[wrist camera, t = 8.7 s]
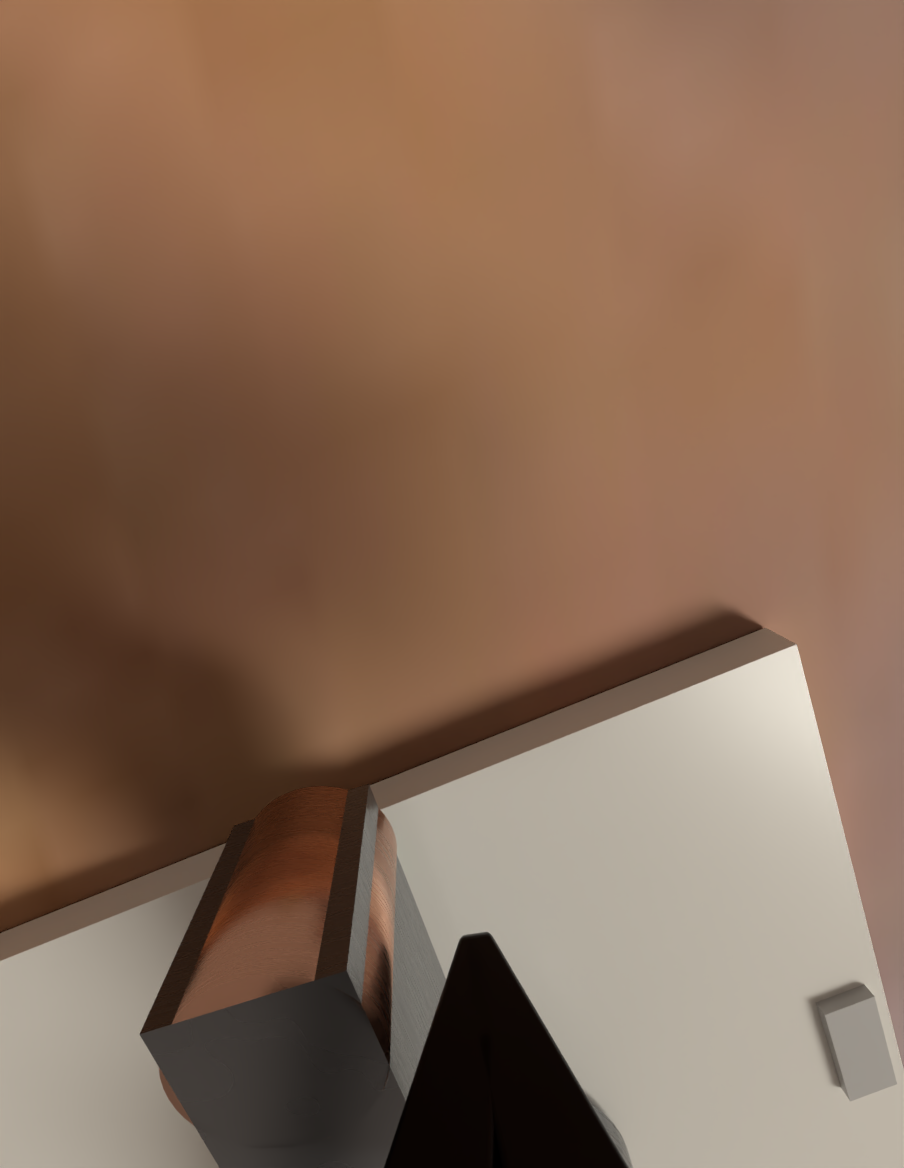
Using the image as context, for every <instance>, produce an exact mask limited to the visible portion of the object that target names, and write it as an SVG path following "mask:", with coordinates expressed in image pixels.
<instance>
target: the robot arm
mask: <svg viewBox="0 0 904 1168" xmlns="http://www.w3.org/2000/svg"><path fill="white" fill-rule="evenodd" d="M384 1168H629V1167H628V1165H627V1163H626V1162H625V1160H624V1158H623V1157H622V1155H621V1153H620V1151H619V1150H618V1148H617V1146H616V1145H615V1143H614V1141H613V1140H612V1138H611V1136H610V1134H609V1133H608V1131H607V1129H606V1128H605V1126H604V1124H603V1123H602V1121H601V1119H600V1117H599V1116H598V1114H597V1112H596V1111H595V1109H594V1107H593V1106H592V1104H591V1102H590V1101H589V1099H588V1097H587V1095H586V1094H585V1092H584V1090H583V1089H582V1087H581V1085H580V1084H579V1082H578V1080H577V1078H576V1077H575V1075H574V1073H573V1072H572V1070H571V1068H570V1067H569V1065H568V1063H567V1061H566V1060H565V1058H564V1056H563V1055H562V1053H561V1051H560V1050H559V1048H558V1046H557V1044H556V1043H555V1041H554V1039H553V1038H552V1036H551V1034H550V1033H549V1031H548V1029H547V1028H546V1026H545V1024H544V1022H543V1021H542V1019H541V1017H540V1016H539V1014H538V1012H537V1011H536V1009H535V1007H534V1005H533V1004H532V1002H531V1000H530V999H529V997H528V995H527V994H526V992H525V990H524V988H523V987H522V985H521V983H520V982H519V980H518V978H517V977H516V975H515V973H514V971H513V970H512V968H511V966H510V965H509V963H508V961H507V960H506V958H505V956H504V955H503V953H502V951H501V949H500V948H499V946H498V944H497V943H496V941H495V939H494V938H493V936H492V935H491V934H490V933H489V932H480V933H474V934H467V935H463V936H462V937H461V938H460V940H459V942H458V945H457V948H456V951H455V954H454V957H453V960H452V963H451V966H450V969H449V972H448V975H447V978H446V981H445V984H444V987H443V990H442V993H441V996H440V999H439V1002H438V1005H437V1008H436V1011H435V1014H434V1017H433V1020H432V1023H431V1026H430V1030H429V1033H428V1036H427V1039H426V1042H425V1045H424V1048H423V1051H422V1054H421V1057H420V1060H419V1063H418V1066H417V1069H416V1072H415V1075H414V1078H413V1081H412V1084H411V1087H410V1090H409V1093H408V1096H407V1099H406V1102H405V1105H404V1108H403V1111H402V1114H401V1117H400V1120H399V1123H398V1126H397V1129H396V1132H395V1135H394V1138H393V1141H392V1144H391V1147H390V1150H389V1153H388V1156H387V1159H386V1162H385V1165H384Z"/></svg>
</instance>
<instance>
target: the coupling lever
mask: <svg viewBox="0 0 904 1168" xmlns="http://www.w3.org/2000/svg"><path fill="white" fill-rule="evenodd" d="M445 981H446V978H445V976H444V973H443V970H442V968H441V965H440V963H439V960H438V958H437V955H436V953H435V950H434V948H433V945H432V943H431V940H430V937H429V935H428V932H427V930H426V927H425V925H424V922H423V920H422V917H421V915H420V912H419V910H418V907H417V904H416V902H415V899H414V897H413V894H412V892H411V889H410V887H409V884H408V882H407V879H406V877H405V874H404V871H403V869H402V866H401V864H400V861H399V859H398V856H397V843H396V837H395V834H394V831H393V828H392V826H391V824H390V822H389V821H388V819H387V818H386V816H385V815H384V814H383V812H382V811H381V810H380V809H379V808H378V806H377V803H376V800H375V798H374V795H373V793H372V790H371V788H370V785H369V784H367V785H364V786H360V787H357V788H354V789H351V790H346V789H341V788H336V787H328V786H314V787H307V788H302V789H298V790H294V791H292V792H289V793H286V794H284V795H282V796H280V797H278V798H277V799H275V800H274V801H272V802H271V803H270V804H268V805H267V806H266V807H265V808H264V809H263V810H262V811H261V812H260V813H259V815H258V816H257V817H256V819H254V820H251V821H248V822H244V823H241V824H238V825H235V826H234V827H233V830H232V832H231V834H230V836H229V838H228V841H227V843H226V845H225V847H224V849H223V852H222V854H221V856H220V858H219V860H218V863H217V865H216V867H215V869H214V871H213V874H212V876H211V878H210V880H209V882H208V885H207V887H206V889H205V891H204V893H203V896H202V898H201V900H200V902H199V904H198V907H197V909H196V911H195V913H194V915H193V918H192V920H191V922H190V924H189V926H188V929H187V931H186V933H185V935H184V937H183V940H182V942H181V944H180V946H179V948H178V951H177V953H176V955H175V957H174V959H173V962H172V964H171V966H170V968H169V970H168V972H167V975H166V977H165V979H164V981H163V983H162V986H161V988H160V990H159V992H158V994H157V997H156V999H155V1001H154V1003H153V1005H152V1008H151V1010H150V1012H149V1014H148V1016H147V1019H146V1021H145V1023H144V1025H143V1027H142V1030H141V1032H140V1034H139V1035H140V1036H141V1038H142V1040H143V1041H144V1043H145V1045H146V1046H147V1048H148V1050H149V1051H150V1053H151V1055H152V1056H153V1058H154V1060H155V1061H156V1063H157V1065H158V1067H159V1075H160V1080H161V1083H162V1086H163V1089H164V1091H165V1093H166V1095H167V1097H168V1099H169V1101H170V1102H171V1103H172V1105H173V1106H174V1108H175V1109H176V1110H177V1111H178V1112H179V1113H180V1114H181V1115H182V1116H183V1117H184V1118H185V1119H186V1120H187V1121H188V1122H190V1123H191V1124H192V1125H193V1126H195V1128H196V1130H197V1131H198V1133H199V1135H200V1136H201V1138H202V1140H203V1141H204V1143H205V1145H206V1146H207V1148H208V1150H209V1151H210V1153H211V1154H212V1156H213V1158H214V1159H215V1161H216V1163H217V1164H218V1166H219V1168H384V1165H385V1162H386V1159H387V1156H388V1153H389V1150H390V1147H391V1144H392V1141H393V1138H394V1135H395V1132H396V1129H397V1126H398V1123H399V1120H400V1117H401V1114H402V1111H403V1108H404V1105H405V1102H406V1099H407V1096H408V1093H409V1090H410V1087H411V1084H412V1081H413V1078H414V1075H415V1072H416V1069H417V1066H418V1063H419V1060H420V1057H421V1054H422V1051H423V1048H424V1045H425V1042H426V1039H427V1036H428V1033H429V1030H430V1026H431V1023H432V1020H433V1017H434V1014H435V1011H436V1008H437V1005H438V1002H439V999H440V996H441V993H442V990H443V987H444V984H445ZM592 1106H593V1107H594V1109H595V1111H596V1112H597V1114H598V1116H599V1117H600V1119H601V1121H602V1123H603V1124H604V1126H605V1128H606V1129H607V1131H608V1133H609V1134H610V1136H611V1138H612V1140H613V1141H614V1143H615V1145H616V1146H617V1148H618V1150H619V1151H620V1153H621V1155H622V1157H623V1158H624V1160H625V1162H626V1163H627V1165H628V1167H629V1168H633V1166H632V1163H631V1159H630V1156H629V1153H628V1149H627V1147H626V1144H625V1142H624V1140H623V1137H622V1135H621V1134H620V1132H619V1131H618V1129H617V1128H616V1126H615V1125H614V1123H613V1122H612V1121H611V1120H610V1119H609V1118H608V1117H607V1116H606V1115H605V1114H604V1113H603V1112H602V1111H601V1110H599V1109H598V1108H597V1107H595V1106H594V1105H593V1104H592Z"/></svg>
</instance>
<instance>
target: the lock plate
mask: <svg viewBox="0 0 904 1168" xmlns="http://www.w3.org/2000/svg"><path fill="white" fill-rule="evenodd" d="M370 788H371V790H372V793H373V795H374V798H375V800H376V803H377V806H378V808H379V809H380V810H381V811H382V812H383V814H384V815H385V816H386V818H387V819H388V821H389V822H390V824H391V826H392V828H393V831H394V834H395V837H396V843H397V856H398V859H399V861H400V864H401V866H402V869H403V871H404V874H405V877H406V879H407V882H408V884H409V887H410V889H411V892H412V894H413V897H414V899H415V902H416V904H417V907H418V910H419V912H420V915H421V917H422V920H423V922H424V925H425V927H426V930H427V932H428V935H429V937H430V940H431V943H432V945H433V948H434V950H435V953H436V955H437V958H438V960H439V963H440V965H441V968H442V970H443V973H444V976H445V978H447V975H448V972H449V969H450V966H451V963H452V960H453V957H454V954H455V951H456V948H457V945H458V942H459V940H460V938H461V937H462V936H463V935H467V934H474V933H480V932H489V933H490V934H491V935H492V936H493V938H494V939H495V941H496V943H497V944H498V946H499V948H500V949H501V951H502V953H503V955H504V956H505V958H506V960H507V961H508V963H509V965H510V966H511V968H512V970H513V971H514V973H515V975H516V977H517V978H518V980H519V982H520V983H521V985H522V987H523V988H524V990H525V992H526V994H527V995H528V997H529V999H530V1000H531V1002H532V1004H533V1005H534V1007H535V1009H536V1011H537V1012H538V1014H539V1016H540V1017H541V1019H542V1021H543V1022H544V1024H545V1026H546V1028H547V1029H548V1031H549V1033H550V1034H551V1036H552V1038H553V1039H554V1041H555V1043H556V1044H557V1046H558V1048H559V1050H560V1051H561V1053H562V1055H563V1056H564V1058H565V1060H566V1061H567V1063H568V1065H569V1067H570V1068H571V1070H572V1072H573V1073H574V1075H575V1077H576V1078H577V1080H578V1082H579V1084H580V1085H581V1087H582V1089H583V1090H584V1092H585V1094H586V1095H587V1097H588V1099H589V1101H590V1102H591V1104H593V1105H594V1106H595V1107H597V1108H598V1109H599V1110H601V1111H602V1112H603V1113H604V1114H605V1115H606V1116H607V1117H608V1118H609V1119H610V1120H611V1121H612V1122H613V1123H614V1125H615V1126H616V1128H617V1129H618V1131H619V1132H620V1134H621V1135H622V1137H623V1140H624V1142H625V1144H626V1147H627V1149H628V1153H629V1156H630V1159H631V1163H632V1166H633V1168H904V1069H903V1065H902V1061H901V1057H900V1053H899V1049H898V1045H897V1041H896V1037H895V1033H894V1029H893V1025H892V1021H891V1017H890V1014H889V1010H888V1006H887V1002H886V998H885V994H884V990H883V986H882V982H881V978H880V974H879V970H878V966H877V962H876V958H875V954H874V950H873V946H872V942H871V938H870V934H869V930H868V926H867V922H866V918H865V914H864V910H863V906H862V902H861V898H860V894H859V890H858V886H857V882H856V878H855V874H854V870H853V866H852V862H851V858H850V854H849V850H848V846H847V842H846V838H845V835H844V831H843V827H842V823H841V819H840V815H839V811H838V807H837V803H836V799H835V795H834V791H833V787H832V783H831V779H830V775H829V771H828V767H827V763H826V759H825V755H824V751H823V747H822V743H821V739H820V735H819V731H818V727H817V723H816V719H815V715H814V711H813V707H812V703H811V699H810V695H809V691H808V687H807V683H806V679H805V675H804V671H803V667H802V663H801V660H800V656H799V652H798V648H797V644H795V643H793V642H791V641H789V640H788V639H786V638H784V637H782V636H780V635H778V634H776V633H774V632H773V631H771V630H769V629H767V628H763V629H761V630H758V631H756V632H753V633H751V634H748V635H746V636H743V637H741V638H738V639H736V640H733V641H731V642H728V643H726V644H723V645H721V646H718V647H716V648H713V649H711V650H708V651H706V652H703V653H701V654H698V655H696V656H693V657H691V658H688V659H686V660H683V661H681V662H678V663H676V664H673V665H671V666H668V667H666V668H663V669H661V670H658V671H656V672H653V673H651V674H648V675H645V676H643V677H640V678H638V679H635V680H633V681H630V682H628V683H625V684H623V685H620V686H618V687H615V688H613V689H610V690H608V691H605V692H603V693H600V694H598V695H595V696H593V697H590V698H588V699H585V700H583V701H580V702H578V703H575V704H573V705H570V706H568V707H565V708H563V709H560V710H558V711H555V712H553V713H550V714H548V715H545V716H543V717H540V718H538V719H535V720H533V721H530V722H528V723H525V724H523V725H520V726H518V727H515V728H513V729H510V730H508V731H505V732H503V733H500V734H498V735H495V736H493V737H490V738H488V739H485V740H483V741H480V742H478V743H475V744H473V745H470V746H468V747H465V748H463V749H460V750H458V751H455V752H453V753H450V754H448V755H445V756H443V757H440V758H438V759H435V760H433V761H430V762H428V763H425V764H423V765H420V766H418V767H415V768H413V769H410V770H408V771H405V772H403V773H400V774H398V775H395V776H393V777H390V778H388V779H385V780H383V781H380V782H377V783H375V784H372V785H370ZM225 845H226V843H225V844H222V845H220V846H217V847H215V848H212V849H210V850H207V851H205V852H202V853H200V854H197V855H195V856H192V857H190V858H187V859H185V860H182V861H180V862H177V863H175V864H172V865H170V866H167V867H165V868H162V869H160V870H157V871H155V872H152V873H150V874H147V875H145V876H142V877H140V878H137V879H135V880H132V881H130V882H127V883H125V884H122V885H120V886H117V887H115V888H112V889H109V890H107V891H104V892H102V893H99V894H97V895H94V896H92V897H89V898H87V899H84V900H82V901H79V902H77V903H74V904H72V905H69V906H67V907H64V908H62V909H59V910H57V911H54V912H52V913H49V914H47V915H44V916H42V917H39V918H37V919H34V920H32V921H29V922H27V923H24V924H22V925H19V926H17V927H14V928H12V929H9V930H7V931H4V932H2V933H0V1168H219V1166H218V1164H217V1163H216V1161H215V1159H214V1158H213V1156H212V1154H211V1153H210V1151H209V1150H208V1148H207V1146H206V1145H205V1143H204V1141H203V1140H202V1138H201V1136H200V1135H199V1133H198V1131H197V1130H196V1128H195V1126H193V1125H192V1124H191V1123H190V1122H188V1121H187V1120H186V1119H185V1118H184V1117H183V1116H182V1115H181V1114H180V1113H179V1112H178V1111H177V1110H176V1109H175V1108H174V1106H173V1105H172V1103H171V1102H170V1101H169V1099H168V1097H167V1095H166V1093H165V1091H164V1089H163V1086H162V1083H161V1080H160V1075H159V1067H158V1065H157V1063H156V1061H155V1060H154V1058H153V1056H152V1055H151V1053H150V1051H149V1050H148V1048H147V1046H146V1045H145V1043H144V1041H143V1040H142V1038H141V1036H140V1035H139V1034H140V1032H141V1030H142V1027H143V1025H144V1023H145V1021H146V1019H147V1016H148V1014H149V1012H150V1010H151V1008H152V1005H153V1003H154V1001H155V999H156V997H157V994H158V992H159V990H160V988H161V986H162V983H163V981H164V979H165V977H166V975H167V972H168V970H169V968H170V966H171V964H172V962H173V959H174V957H175V955H176V953H177V951H178V948H179V946H180V944H181V942H182V940H183V937H184V935H185V933H186V931H187V929H188V926H189V924H190V922H191V920H192V918H193V915H194V913H195V911H196V909H197V907H198V904H199V902H200V900H201V898H202V896H203V893H204V891H205V889H206V887H207V885H208V882H209V880H210V878H211V876H212V874H213V871H214V869H215V867H216V865H217V863H218V860H219V858H220V856H221V854H222V852H223V849H224V847H225Z"/></svg>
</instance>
